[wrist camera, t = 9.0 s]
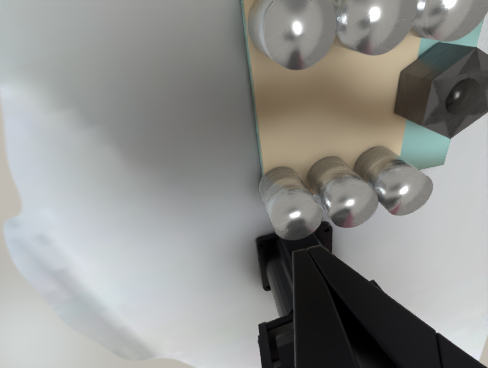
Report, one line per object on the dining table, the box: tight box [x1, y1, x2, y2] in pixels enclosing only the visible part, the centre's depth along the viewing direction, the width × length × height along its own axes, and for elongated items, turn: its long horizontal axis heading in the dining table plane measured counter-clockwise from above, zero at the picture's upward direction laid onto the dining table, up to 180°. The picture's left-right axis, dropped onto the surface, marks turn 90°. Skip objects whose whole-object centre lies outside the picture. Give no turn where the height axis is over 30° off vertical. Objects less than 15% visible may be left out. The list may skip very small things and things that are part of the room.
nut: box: [394, 42, 488, 139], centre depth 18 cm, size 5×4×3 cm
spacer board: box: [240, 0, 484, 195], centre depth 19 cm, size 13×14×1 cm
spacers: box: [247, 0, 488, 240], centre depth 16 cm, size 13×10×4 cm
